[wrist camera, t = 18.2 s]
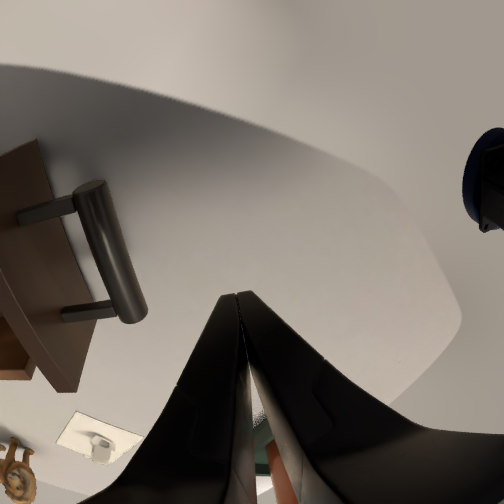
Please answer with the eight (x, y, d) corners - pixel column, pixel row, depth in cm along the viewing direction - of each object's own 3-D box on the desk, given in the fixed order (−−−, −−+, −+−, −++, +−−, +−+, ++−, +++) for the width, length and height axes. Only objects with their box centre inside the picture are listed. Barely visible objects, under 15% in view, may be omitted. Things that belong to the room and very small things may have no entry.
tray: (288, 396, 25) (294, 416, 23) (360, 406, 28) (367, 422, 27) (220, 457, 30) (222, 473, 28) (287, 462, 33) (291, 476, 32)
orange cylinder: (275, 429, 27) (298, 523, 18) (322, 428, 28) (350, 513, 20) (257, 452, 29) (274, 535, 21) (301, 450, 31) (322, 527, 22)
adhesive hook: (117, 439, 26) (115, 466, 23) (109, 447, 27) (107, 472, 24) (90, 429, 25) (86, 456, 22) (83, 437, 26) (79, 462, 23)
